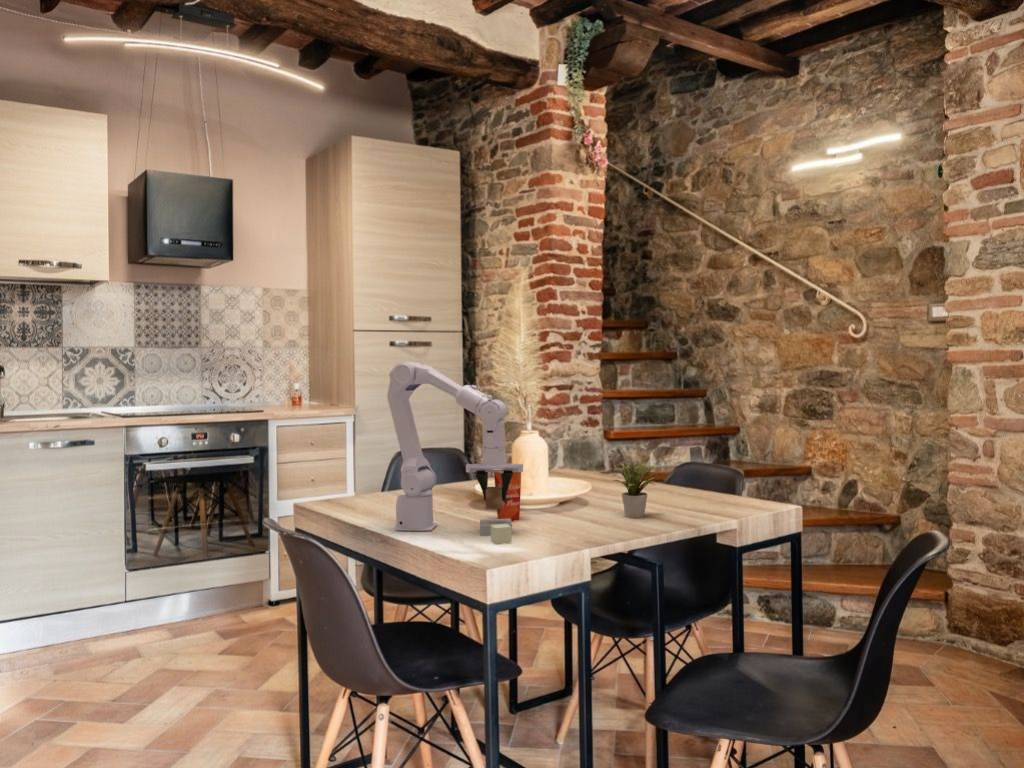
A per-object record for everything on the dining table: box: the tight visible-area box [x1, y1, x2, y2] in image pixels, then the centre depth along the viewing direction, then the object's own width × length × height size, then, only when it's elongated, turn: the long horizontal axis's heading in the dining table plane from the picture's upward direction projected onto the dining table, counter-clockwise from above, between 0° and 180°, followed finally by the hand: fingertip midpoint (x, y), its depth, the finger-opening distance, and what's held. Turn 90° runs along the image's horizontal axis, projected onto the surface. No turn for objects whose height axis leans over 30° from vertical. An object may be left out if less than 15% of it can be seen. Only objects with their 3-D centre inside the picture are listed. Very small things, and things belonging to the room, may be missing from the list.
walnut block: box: [485, 486, 504, 510], centre depth 210 cm, size 4×4×5 cm
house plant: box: [610, 457, 661, 519], centre depth 227 cm, size 14×14×16 cm
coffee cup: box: [492, 469, 522, 522], centre depth 227 cm, size 8×8×15 cm
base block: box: [479, 518, 513, 537], centre depth 211 cm, size 8×8×3 cm
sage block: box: [490, 524, 512, 545], centre depth 200 cm, size 4×4×4 cm
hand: (495, 500), depth 211 cm, fingers closed on walnut block, 4 cm apart
